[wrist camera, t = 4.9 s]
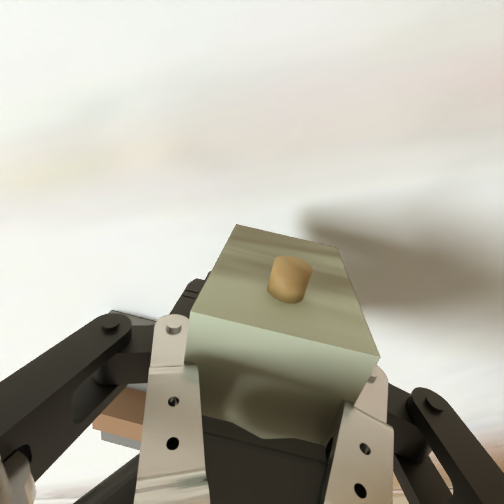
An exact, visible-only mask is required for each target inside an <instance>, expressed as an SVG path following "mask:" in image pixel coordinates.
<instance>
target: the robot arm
mask: <svg viewBox="0 0 504 504" xmlns="http://www.w3.org/2000/svg"><path fill="white" fill-rule="evenodd" d="M210 273H211V271H210V272H209V273H208V275H207V277H206V279H205V280H201V279H195V280H193V281H192V282H190V283H189V284H188V285H187V287H186V289H185V291H184V292H183V293H182V295H181V297H180V298H179V300H178V301H177V303H176V304H175V306H174V308H173V309H172V311H171V312H170V314H169V315H166V316H163V317H161V318H160V319H158V320H157V322H156V323H155V324H153V325H132V322H131V320H130V318H128V317H127V316H125V315H123V314H118V313H110V314H105V315H102V316H99V317H97V318H96V319H94V320H93V321H91V322H90V323H88V324H87V325H85V326H84V327H82V328H81V329H79V330H78V331H76V332H75V333H73V334H72V335H70V336H69V337H67V338H66V339H64V340H63V341H61V342H60V343H58V344H57V345H55V346H54V347H52V348H51V349H49V350H48V351H46V352H45V353H43V354H42V355H40V356H39V357H37V358H36V359H34V360H33V361H31V362H30V363H28V364H27V365H25V366H24V367H22V368H21V369H19V370H18V371H16V372H15V373H13V374H12V375H10V376H9V377H7V378H6V379H4V380H3V381H1V382H0V504H33V503H34V499H35V495H36V486H35V482H36V481H37V480H38V479H39V478H40V477H41V475H42V474H43V473H44V472H45V471H46V470H47V469H48V468H49V467H50V466H51V465H52V464H53V463H54V462H55V461H56V460H57V459H58V458H59V457H60V456H61V455H62V453H63V452H64V451H65V450H66V449H67V448H68V447H69V446H70V445H71V444H72V443H73V442H74V441H75V440H76V439H77V438H78V437H79V436H80V435H81V434H82V433H83V431H84V430H85V429H86V428H87V427H88V426H89V425H90V424H91V423H92V422H93V421H94V420H95V419H96V418H97V417H98V416H99V415H100V414H101V413H102V412H103V411H104V410H105V408H106V407H107V406H108V405H109V404H110V403H111V402H112V401H113V400H114V399H115V398H116V397H117V396H118V395H119V394H120V393H121V392H122V391H123V390H124V389H125V388H126V386H127V385H128V384H140V383H148V384H147V393H146V402H145V411H144V420H143V429H142V438H141V447H140V453H139V454H138V455H137V456H135V457H134V458H133V459H131V460H130V461H129V462H127V463H126V464H125V465H123V466H122V467H121V468H119V469H118V470H117V471H115V472H114V473H113V474H112V475H110V476H109V477H108V478H106V479H105V480H104V481H102V482H101V483H100V484H98V485H97V486H96V487H94V488H93V489H92V490H90V491H89V492H88V493H86V494H85V495H84V496H82V497H81V498H80V499H78V500H77V501H76V502H75V503H73V504H392V503H393V472H394V474H395V476H396V478H397V480H398V482H399V484H400V486H401V488H402V490H403V492H404V494H405V496H406V498H407V500H408V502H409V504H504V473H503V472H502V470H501V469H500V468H499V467H498V465H497V464H496V463H495V462H494V460H493V459H492V458H491V456H490V455H489V454H488V453H487V451H486V450H485V449H484V448H483V446H482V445H481V444H480V443H479V441H478V440H477V439H476V437H475V436H474V435H473V434H472V432H471V431H470V430H469V429H468V427H467V426H466V425H465V424H464V422H463V421H462V420H461V419H460V417H459V416H458V415H457V413H456V412H455V411H454V410H453V408H452V407H451V406H450V405H449V404H448V402H447V401H446V400H445V399H443V398H442V397H441V396H440V395H438V394H437V393H435V392H433V391H431V390H429V389H426V388H422V387H418V388H415V389H414V390H413V391H412V393H411V394H409V393H407V392H405V391H403V390H401V389H399V388H397V387H395V386H393V385H391V384H390V383H388V378H387V376H386V374H385V373H384V372H383V370H382V369H381V368H380V367H378V366H377V365H376V366H375V368H374V370H373V372H372V373H371V375H370V377H369V379H368V381H367V382H366V384H365V386H364V388H363V390H362V392H361V393H360V395H359V397H358V399H357V401H356V402H355V403H354V402H350V401H346V400H343V399H342V401H341V403H340V405H339V407H338V409H337V412H336V415H335V418H334V420H333V423H332V425H331V427H330V429H329V430H328V432H327V434H326V436H325V438H324V440H321V442H320V444H317V443H313V442H309V441H305V440H301V439H297V438H276V439H263V438H260V437H258V436H256V435H254V434H252V433H251V432H249V431H247V430H245V429H243V428H241V427H239V426H238V425H236V424H234V423H232V422H228V421H224V420H220V419H216V418H212V417H208V416H204V415H202V416H201V403H200V389H199V375H198V366H197V365H195V363H192V362H188V361H184V356H185V348H186V341H187V333H188V325H189V317H190V311H191V309H192V307H193V305H194V303H195V301H196V299H197V298H198V296H199V294H200V292H201V290H202V288H203V286H204V284H205V282H206V281H207V279H208V277H209V275H210ZM431 451H433V452H434V454H435V455H436V457H437V459H438V460H439V462H440V463H441V465H442V466H443V468H444V470H445V471H446V473H447V474H448V476H449V478H450V480H451V482H452V485H453V495H452V493H451V492H450V490H449V488H448V487H447V485H446V483H445V482H444V480H443V479H442V477H441V475H440V474H439V472H438V470H437V469H436V467H435V466H434V464H433V462H432V461H431V459H430V457H429V456H428V455H429V454H430V452H431Z"/></svg>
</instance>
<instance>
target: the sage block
mask: <svg viewBox="0 0 504 504" xmlns="http://www.w3.org/2000/svg"><path fill="white" fill-rule="evenodd" d="M379 359H380V355H379V352H378V350H377V347H376V345H375V342H374V340H373V337H372V335H371V332H370V330H369V327H368V325H367V322H366V320H365V317H364V315H363V312H362V310H361V307H360V305H359V302H358V299H357V297H356V294H355V292H354V289H353V287H352V284H351V282H350V279H349V277H348V274H347V272H346V269H345V267H344V264H343V262H342V259H341V257H340V254H339V252H338V249H337V248H336V247H332V246H328V245H324V244H319V243H315V242H311V241H306V240H302V239H298V238H293V237H289V236H285V235H281V234H276V233H272V232H268V231H263V230H259V229H255V228H250V227H246V226H242V225H238V224H236V226H235V228H234V230H233V231H232V233H231V235H230V237H229V239H228V241H227V243H226V245H225V247H224V248H223V250H222V252H221V254H220V256H219V258H218V260H217V262H216V264H215V265H214V267H213V269H212V271H211V273H210V275H209V277H208V279H207V281H206V282H205V284H204V286H203V288H202V290H201V292H200V294H199V296H198V298H197V299H196V301H195V303H194V305H193V307H192V309H191V311H190V317H189V325H188V333H187V341H186V348H185V356H184V361H188V362H192V363H195V365H197V366H198V375H199V389H200V403H201V416H202V415H204V416H208V417H212V418H216V419H220V420H224V421H228V422H232V423H234V424H236V425H238V426H239V427H241V428H243V429H245V430H247V431H249V432H251V433H252V434H254V435H256V436H258V437H260V438H263V439H276V438H297V439H301V440H305V441H309V442H313V443H317V444H320V442H321V440H324V438H325V436H326V434H327V432H328V430H329V429H330V427H331V425H332V423H333V420H334V418H335V415H336V412H337V409H338V407H339V405H340V403H341V401H342V399H343V400H346V401H350V402H354V403H355V402H356V401H357V399H358V397H359V395H360V393H361V392H362V390H363V388H364V386H365V384H366V382H367V381H368V379H369V377H370V375H371V373H372V372H373V370H374V368H375V366H376V364H377V363H378V361H379Z"/></svg>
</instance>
